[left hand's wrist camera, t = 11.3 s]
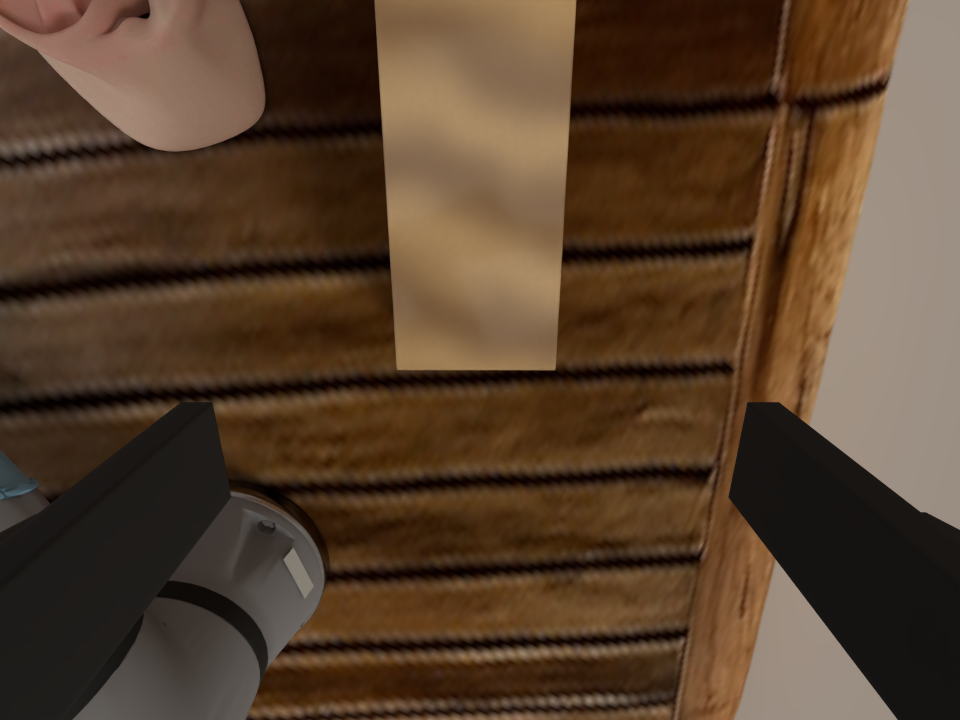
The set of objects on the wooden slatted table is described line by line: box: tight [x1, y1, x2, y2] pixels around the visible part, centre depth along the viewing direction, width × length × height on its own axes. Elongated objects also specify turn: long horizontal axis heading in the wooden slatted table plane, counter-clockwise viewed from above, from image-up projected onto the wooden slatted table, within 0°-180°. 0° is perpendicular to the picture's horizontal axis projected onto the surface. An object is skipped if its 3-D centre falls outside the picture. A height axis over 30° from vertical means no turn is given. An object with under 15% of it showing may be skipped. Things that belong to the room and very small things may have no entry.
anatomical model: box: [0, 0, 265, 151], centre depth 28 cm, size 13×4×12 cm
